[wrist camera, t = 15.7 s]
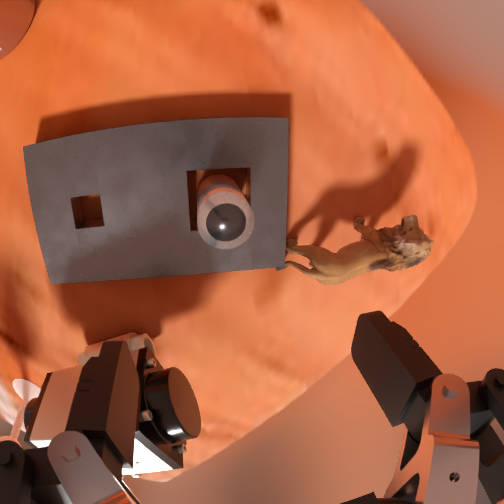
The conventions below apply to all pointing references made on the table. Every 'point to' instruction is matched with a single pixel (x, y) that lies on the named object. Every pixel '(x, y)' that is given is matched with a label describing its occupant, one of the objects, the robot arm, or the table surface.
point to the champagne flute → (26, 393)
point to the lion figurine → (365, 252)
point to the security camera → (148, 411)
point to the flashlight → (223, 213)
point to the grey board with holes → (155, 198)
